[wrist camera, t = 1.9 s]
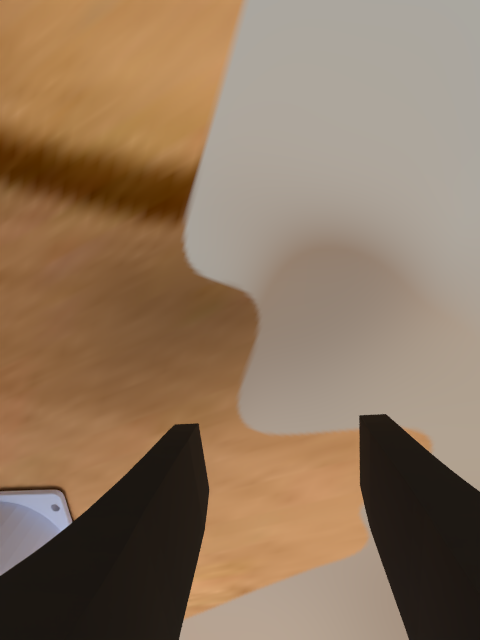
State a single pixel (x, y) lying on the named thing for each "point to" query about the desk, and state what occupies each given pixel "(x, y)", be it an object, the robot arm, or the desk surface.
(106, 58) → the desk surface
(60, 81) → the desk surface
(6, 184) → the desk surface
